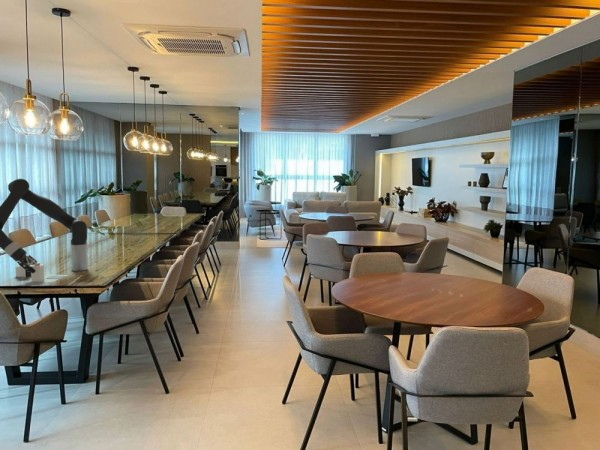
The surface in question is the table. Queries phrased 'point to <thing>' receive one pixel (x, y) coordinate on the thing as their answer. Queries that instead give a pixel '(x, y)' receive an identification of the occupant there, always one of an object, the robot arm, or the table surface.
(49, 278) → the post board
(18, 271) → the medicine bottle
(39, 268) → the white bottle
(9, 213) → the robot arm
